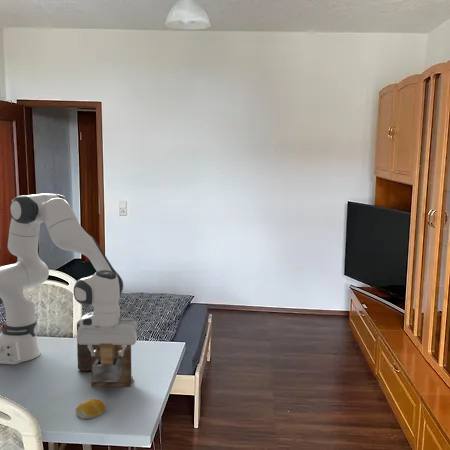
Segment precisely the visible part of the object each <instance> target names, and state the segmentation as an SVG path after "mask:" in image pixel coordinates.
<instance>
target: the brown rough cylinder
mask: <svg viewBox="0 0 450 450" xmlns="http://www.w3.org/2000/svg"><path fill="white" fill-rule="evenodd" d="M79 326H80V319H79V320H78V321H76V332H77V331H78V328H79ZM76 346H77V349H76V350H77V351H76V352H77V354H76V355H77V356H76V357H77V369H78V370H82V371H85V372H86V371H87V372H88V371H92V358H91V352H90V350H89V349H88V345H79V344H78V343H77V342H76Z"/></svg>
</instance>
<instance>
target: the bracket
mask: <svg viewBox="0 0 450 450" xmlns="http://www.w3.org/2000/svg"><path fill="white" fill-rule="evenodd" d="M92 347H93V349H94V350H96V356H93V357H92V356H91V358H92V370H91V388H92V387H93V388H95V387H96V388H99V387H100V388H101V387H104V388H105V387H106V388H109V387H111V388H122V387H123V388H131V386H132V383H133V380H134V376H133V375H132V345H127V346H126V348H125V350H124V355H123V357H119V353H118V352H119V350H122V349H123V348H122V345H114V356H115V365H101V355H100V345H93V346H92Z"/></svg>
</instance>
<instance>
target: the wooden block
mask: <svg viewBox="0 0 450 450" xmlns="http://www.w3.org/2000/svg"><path fill="white" fill-rule="evenodd" d="M100 355H101V365H115V356H114V345H112V344H100Z"/></svg>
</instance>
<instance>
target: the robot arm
mask: <svg viewBox="0 0 450 450" xmlns="http://www.w3.org/2000/svg"><path fill="white" fill-rule="evenodd" d="M9 213H10V215H11V219H10V222H9V223H10V224H9V229H8V230H9V231H8V232H9V233H8V238H7V239H8V240H7V250H8V252H10V254H11V255H13V256H15V257H17V261H16V262H15V263H11V264H7V265H1V266H0V299H1V301H2V303H3V305H4V309H5V311H4V312H5V319H6V320H5V321H4V323H3V324H2V325H1V326H0V331H1V332H0V364H2V365H12V366H13V365H17V364H21V363H23V362H28V361H31V360H34V359H36V358H38V357H39V356H40V355H41V353H42V352H41V349H40V346H39V343H38V342H39V341H38V337H37V336H38V335H37V334H38V325H37V324H38V323H37V320H36V305H35V302H34V301H33V300H32V299H30V298H29V297H26V296H25V295H24V290H25V289H26V290H27V289H29V288H34V287H37V286H39V285H41V284H43V283H44V282H46V281H47V280H48V278H49V275H50V270H49V267H48V265H47V264H46V263H45V262H44V261H43V260H42V259H41V258H40V256H39V240H40V239H39V238H40V231H41V230H40V228H41V224H43V223H44V225H45V227H46V229H47V231H48V234H49V238H50V239H51V241H52V242H53V244H54V245H55V246H56V247H58V248H59V249H61V250H64V251H68V252H74V253H78V254H81V255H83V256H85V257H86V258H88V260H89V261H90V263H91V265H92V266H93V268H94V269H95V271H96V272H95V273H94V274H91V275H89V276H87V277H82V278H80V279H78V280H76V282H75V284H74V287H73V297H74V300H75V301H76V302H77V303H78V304H80V305H82V306H93V311H90V312H88V313H84V315H82V316H81V318H80V319H79V320H80V326H79V328H78V331H77V330H76V344H77V343H78V344H79V345H88V349H89V350H90V352H91V356H92V357H93V356H96V350H94V349H93V347H92V346H93V345H100V344H112V345H122V348H123V349H122V350H119V352H118V353H119V357H123V355H124V350H125V348H126V346H127V345H131V346H134V345H135V344H136V343H137V340H138V336H137V329H138V321H137V320H136V319H134V318H133V317H121V307H120V302H119V301H120V296H122V295H121V294H122V292H123V290H124V281H123V278H122V277H121V276H120V274H119V273H118V272H117V271H116V269H114V267H113V266H112V264H111V262H110V261H109V259H108V258H107V256H106V254H105V253H104V251H103V250H102V248H101V246H100V245H99V243H98V242H97V241H96V239H95V237H94V236H92V235H90V234H89V233H87V232H86V231H85V229H84V228H83V227H82V226H81V224H80V222H79V220H78V218H77V216H76V214H75V212H74V210H73V209H72V207H71V206H70V204H69V201H68V199H67V198H66V196H64V195H62V194H58V193H36V194H28V195H25V194H24V195H18V196H16V197H14V198H13V199H12V200H11V202H10V205H9Z"/></svg>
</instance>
